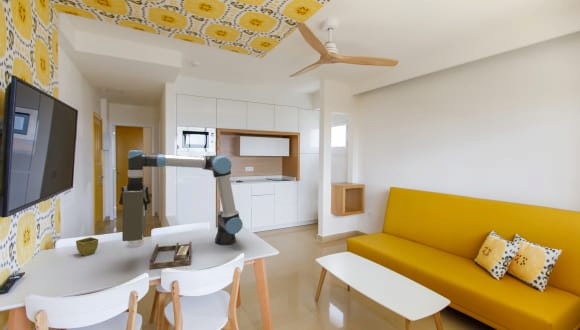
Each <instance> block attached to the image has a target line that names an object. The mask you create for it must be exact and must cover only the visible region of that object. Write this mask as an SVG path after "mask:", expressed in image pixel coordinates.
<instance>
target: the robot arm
mask: <svg viewBox="0 0 580 330" xmlns="http://www.w3.org/2000/svg"><path fill="white" fill-rule="evenodd" d="M144 167H145V168H147V167H149V168H153V167H155V168H162V167H163V168H164V167H176V168H177V167H178V168H193V169H194V168H195V169H202V170H206V171H212V175H213V178H214V179H216V184H217V188H218V194H219V197H220V204H221V208H222V210H219V211H218V212H217V232H216V235H215V238H214V244H217V245H221V246H223V245H224V246H227V245H228V246H229V245H232V244H235V243H236V241H237V238H236V234H238V233H239V232H240V231H241V230H242V229H243V224H244V223H243V221H242V218H241V217H240V213H239V210H237V209H236V205H235V199H234V194H233V188H232V184H231V183H232V182H231V179H230V178H231V177H230V176H231V175H232V170H231V169H232V161H231V160H230V158H229V157H227V156H226V155H222V154H221V155H219V154H218V155H217V154H216V155H215V154H213V155H202V156H191V155H179V154H178V155H177V154H161V153H144V151H143V150H135V149H131V150H129V151H128V153H127V186H122V187H120V188H121V189H120V190H121V192H120V193H121V194H120V196H119V202H118V205H121V206H123V192H124V191H125V190H126V189H129V191H140V190H141V189H143V188H144V190H145V192H146V199H145V197H143V202H144V204H143V216H145V210H146V211H147V209H148V204H151V201H152V200H151V196H150V191H149V189H150V186H147V185H146V187H145V186H143V185H144Z"/></svg>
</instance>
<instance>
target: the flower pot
mask: <svg viewBox="0 0 580 330" xmlns="http://www.w3.org/2000/svg"><path fill="white" fill-rule="evenodd" d="M75 245H76V246H75V247H76V250H77V252H78V253H79V254H80V255H82V256H90V255H92V254H95V252H96V251H97V248H98V245H99V238H95V237H92V236H90V237H86V238H82V239H78V240H75Z"/></svg>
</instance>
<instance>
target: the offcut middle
mask: <svg viewBox="0 0 580 330" xmlns="http://www.w3.org/2000/svg"><path fill="white" fill-rule="evenodd" d="M188 257H189V251H188V253H187V255H186V258H177V260H176V261H180V260H186V259H187V260H188Z"/></svg>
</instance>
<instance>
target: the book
mask: <svg viewBox="0 0 580 330" xmlns="http://www.w3.org/2000/svg"><path fill="white" fill-rule="evenodd" d="M143 186H145V187H147V184H143ZM143 197H145V199H146V200H147V197H146V192H145V190H144V188H143V189H141V190H140V191H129V189H126V190H125V191H124V192H123V205H122V210H121V211H122V214H121V215H122V221H121V222H122V224H121V225H122V232H121V233H122V237H121V239H122V242H128V241H136V240H142V237H143V238H144V233H145V231H146V227H147V225H146V224H147V210H145V216H143V204H144V202H143Z"/></svg>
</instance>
